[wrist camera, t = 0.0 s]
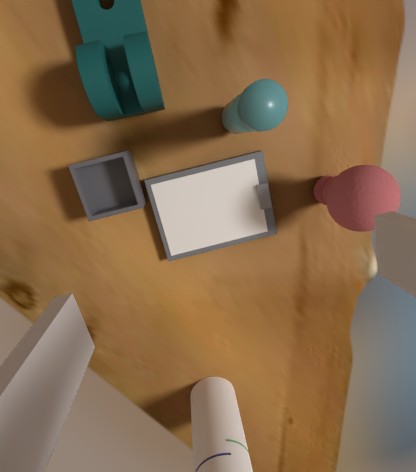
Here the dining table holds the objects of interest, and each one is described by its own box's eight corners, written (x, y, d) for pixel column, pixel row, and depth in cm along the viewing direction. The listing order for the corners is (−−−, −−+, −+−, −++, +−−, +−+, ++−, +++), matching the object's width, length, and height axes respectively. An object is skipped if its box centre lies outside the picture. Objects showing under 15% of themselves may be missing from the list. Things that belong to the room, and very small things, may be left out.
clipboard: (145, 179, 39) (143, 181, 37) (260, 150, 39) (263, 150, 38) (168, 258, 42) (168, 263, 41) (274, 231, 43) (278, 234, 41)
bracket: (165, 109, 37) (161, 100, 30) (109, 120, 37) (92, 115, 29) (122, -77, 32) (105, -146, 24) (57, -65, 31) (19, -130, 24)
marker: (215, 105, 37) (236, 85, 24) (245, 98, 37) (283, 73, 24) (222, 138, 38) (246, 135, 25) (251, 130, 38) (291, 124, 25)
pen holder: (77, 163, 38) (68, 165, 34) (130, 150, 38) (126, 151, 34) (96, 214, 40) (88, 221, 36) (146, 202, 40) (143, 207, 36)
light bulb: (361, 172, 41) (431, 184, 30) (335, 221, 43) (392, 249, 32) (315, 151, 40) (371, 155, 29) (291, 202, 42) (334, 225, 30)
